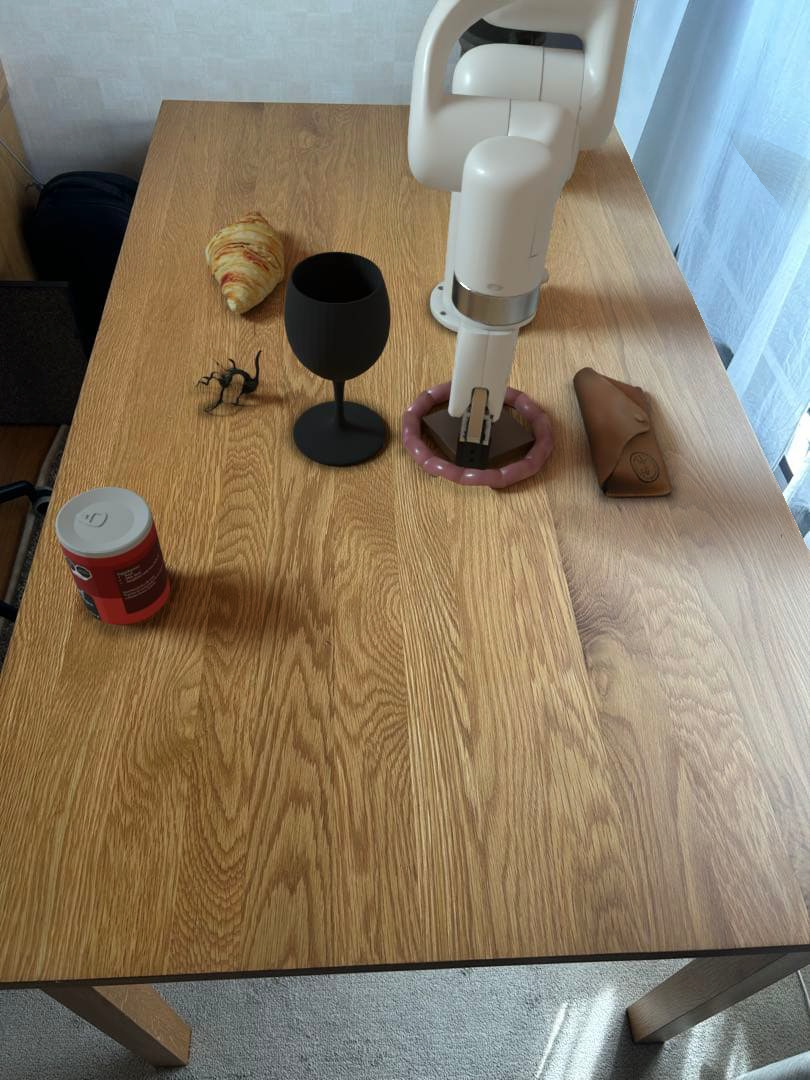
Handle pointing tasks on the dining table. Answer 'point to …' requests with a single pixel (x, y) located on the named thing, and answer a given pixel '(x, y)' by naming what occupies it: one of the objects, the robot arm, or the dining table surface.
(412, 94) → the robot arm
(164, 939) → the dining table surface
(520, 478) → the ring
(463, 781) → the dining table surface
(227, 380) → the creature
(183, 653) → the dining table surface
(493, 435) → the stand
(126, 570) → the canned food
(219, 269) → the croissant
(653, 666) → the dining table surface
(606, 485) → the sunglasses case
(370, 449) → the wine glass
